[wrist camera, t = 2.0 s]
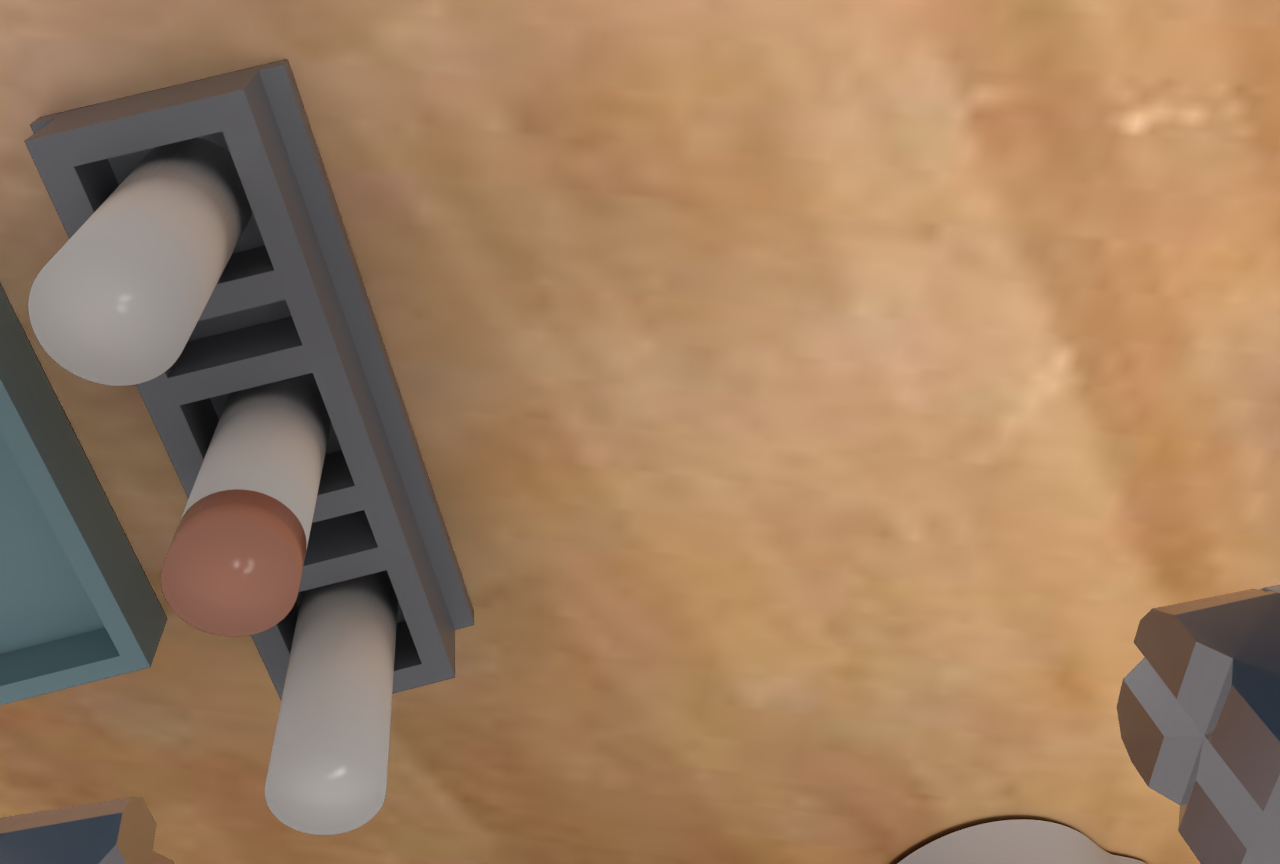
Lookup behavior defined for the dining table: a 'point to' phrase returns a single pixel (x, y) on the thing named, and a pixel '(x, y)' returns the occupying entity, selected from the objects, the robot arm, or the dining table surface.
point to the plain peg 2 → (336, 708)
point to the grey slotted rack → (282, 343)
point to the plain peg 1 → (142, 266)
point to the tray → (60, 546)
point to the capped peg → (250, 511)
